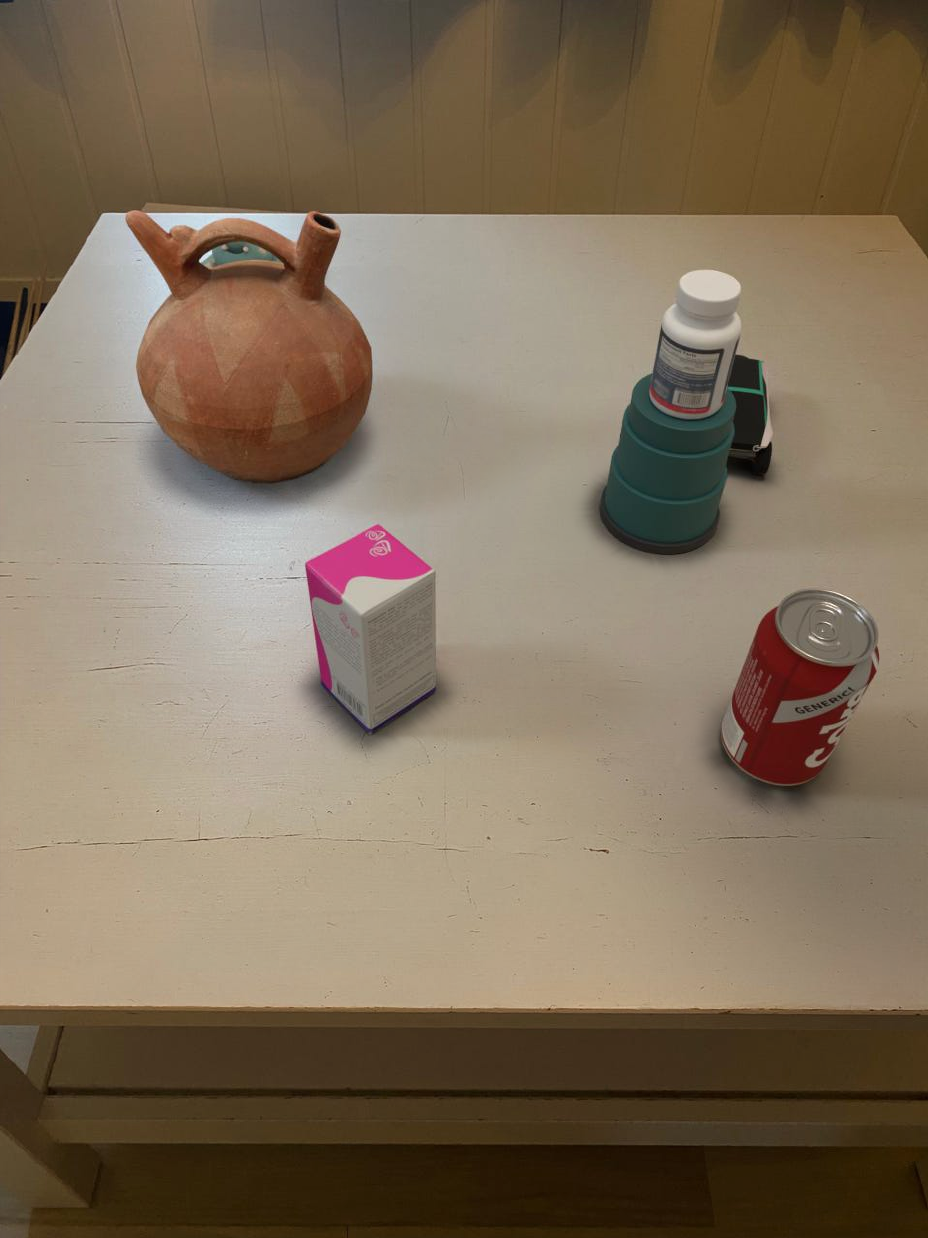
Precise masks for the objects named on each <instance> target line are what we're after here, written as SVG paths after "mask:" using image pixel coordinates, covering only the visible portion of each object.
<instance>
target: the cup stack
mask: <svg viewBox="0 0 928 1238" xmlns="http://www.w3.org/2000/svg"><path fill="white" fill-rule="evenodd" d="M652 373H653V372H651V373H649V374H647V375H645V376H643V377H641V378H640V379H639V380H638V381H637V382H636V384H635V385H634V387H633V389H632V392H631V397H630V403H629V404H628V405H627V407H626V408H625V409H624V412H623V415H622V421H621V427H620V433H619V440H618V445H617V446H616V447H615V449H614V450H613V452H612V454H611V459H610V465H609V469H608V470H609V471H608V476H607V483H606V485H605V487H604V489H603V490H602V493H601V496H600V503H599V514H600V518H601V520H602V523H603V524H604V526H605V527H606V529H607V530H608V531H609V533H610V534H612V535H613V536H614V537H615V539H618V540H619V541H620V542H622V543H623V544H626V545H627V546H629V547H632V548H633V549H636V550H639V551H643V552H647V553H651V554H658V555H675V554H683V553H687V552H690V551H691V552H692V551H693V550H697V549H698V548H700V547H702V546H703V545H705V544H706V543H707V542H708V541H709V540H710V539H711V538H712V537H713V536H714V534H715V533H716V531H717V527H718V524H719V520H720V518H721V517H720V516H721V509H720V504H721V500H722V497H723V493H724V490H725V486H726V482H727V478H728V469H727V462H728V458H729V456H728V455H729V451H730V448H731V444H732V440H733V437H734V429H735V428H734V424H733V418H734V415H735V411H736V401H735V398H734V396H733V394H732V392H731V391H730V390H729V389H728V388H727V390H726V394H725V398H724V401H723V404H722V406H721V408H720V409H719V410H718V411H717V412H715V413H714V414H712V415H710V416H708V417H705V418H701V419H681V418H676V417H673V416H670V415H668V414H666V413H664V412H662V411H661V410H659V409H658V408H657V407H656V406H655V405H654V404H653V402H652V401H651V399H650V394H649V391H650V384H651V379H652Z"/></svg>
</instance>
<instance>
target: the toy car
mask: <svg viewBox="0 0 928 1238" xmlns="http://www.w3.org/2000/svg"><path fill="white" fill-rule="evenodd" d="M727 388H728V389H729V390H730V391H731V392H732V394H733V396H734V398H735V401H736V411H735V415H734V418H733V424H734V428H735V429H734V437H733V440H732V444H731V448H730V451H729V455H728V457H730V458H731V457H732V458H741V459H747V460H750V461H752V467H751V470H752V473H753V474H755V475H766V474H767V473H768V471H769V468H770V465H771V462H772V456H773V455H772V454H773V443H772V441H771V440H772V438H773V434H774V431H773V427H772V421H771V412H770V409H771V408H770V397H769V391H770V390H769V389H770V374H769V370H768V366H767V364H766V362H765V361H764V360H761V359H756V358H749V357H747V356H745V355H742V354H735V358H734V362H733V366H732V370H731V374H730V378H729V382H728V386H727Z"/></svg>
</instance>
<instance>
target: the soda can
mask: <svg viewBox="0 0 928 1238" xmlns="http://www.w3.org/2000/svg"><path fill="white" fill-rule="evenodd" d="M879 637H880V635H879V628H878V626H877V623H876V621H875V619H874V617H873V616H872V615H871V614H870V612H869V611H868V610H867V609H866V608H865V607H864V606H863V605H862V604H860V603H859V602H858V601H856V600H854V599H853V598H852V597H849V596H847V595H845V594H843V593H840V592H837V591H834V590H830V589H824V588H804V589H800V590H796V591H794V592H792V593H789V594H787V595H786V596H785V597H784V598H783V599H782V600H781V601H780V603H779V604H778V605H777V606H775V607H774V608H772V609H770V610H769V611H768V612H767V613H766V614H765V615H764V616H763V617H762V618H761V619H760V621H759V624H758V625H757V628H756V632H755V634H754V637H753V639H752V642H751V643H750V647H749V650H748V652H747V655H746V658H745V661H744V663H743V665H742V669H741V672H740V674H739V677H738V679H737V682H736V685H735V687H734V689H733V693H732V695H731V697H730V700H729V703H728V706H727V708H726V711H725V714H724V716H723V719H722V721H721V726H720V738H721V742H722V745H723V748H724V750H725V752H726V754H727V755H728V757H729V759H730V760H731V762H733V764H734V765H736V767H737V768H738V769H740V770H741V771H742V772H743V773H745V774H746V775H748V776H750V777H751V778H754V779H755V780H758V781H761V782H763V783H765V784H769V785H774V786H781V787H789V786H791V787H792V786H798V785H803V784H805V783H808V782H810V781H812V780H813V779H815V778H816V777H818V775H820V774H821V773H822V771H823V770H824V769H825V768H826V765H827V763H828V761H829V760H830V758H831V756H832V754H833V753H834V751H835V749H836V747H837V745H838V743H839V741H840V739H841V738H842V736H843V734H844V732H845V730H846V728H847V726H848V725H849V723H850V721H851V719H852V718H853V717H854V715H855V712H856V711H857V708H858V707H859V705H860V704H861V701H862V699H863V698H864V696H865V694H866V692H867V690H868V689H869V687H870V685H871V683H872V681H873V679H874V677H875V676H876V674H877V671H878V668H879V665H880V653H879V652H880V651H879V648H878V647H879V646H878V643H879Z"/></svg>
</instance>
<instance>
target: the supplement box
mask: <svg viewBox="0 0 928 1238" xmlns="http://www.w3.org/2000/svg"><path fill="white" fill-rule="evenodd" d="M304 568H305V573H306V581H307V589H308V595H309V596H308V597H309V603H310V611H311V618H312V626H313V632H314V639H315V646H316V654H317V660H318V668H319V670H318V671H319V676H320V677H319V678H320V684H321V686H322V687H323V688H324V689H325V690H326V691H327V692H328V693H329V695H330V696H331V697H332V698H333V699H334V700H335V701H336V702H337V703H338V704H339V705H340V706H341V707H342V708H343V709H344V710H345V711H346V712H347V713H348V714H349V715H350V716H351V717H352V718H353V719H354V721H356V722H357V723H358V724H359V725H360V726H361V727H362V728H363V729H364V731H366V732H367V734H368V735H372V734H374V733H376V732H377V731H379V730H380V729H382V728H383V727H385V726H386V725H388V724H389V723H390V722H392V721H393V720H395V719H396V718H398V717H400V716H401V715H402V714H404V713H405V712H407V711H408V710H410V709H411V708H413V707H415V706H416V705H418V704H419V703H421V702H422V701H423V700H425V699H426V698H428V697H429V696H431V695H432V694H434V693H435V692H436V690H437V653H436V651H437V635H436V634H437V632H436V630H437V628H436V627H437V623H436V622H437V619H436V617H437V614H436V613H437V612H436V611H437V609H436V607H437V606H436V605H437V604H436V603H437V602H436V601H437V600H436V599H437V598H436V595H437V594H436V593H437V591H436V590H437V589H436V583H437V582H436V578H437V577H436V575H437V574H436V569H433V567H431V565H429V564H428V563H426V561H424V560H423V559H421V558H420V556H418V555H417V554H416V553H415V552H413V550H411V549H410V548H408V547H407V546H406V545H404V543H402V542H401V541H400V540H399V539H397V538H396V537H395V536H394V535H392V533H390V532H389V531H388V530H387V529H385V528H384V527H383V526H382V525H380V523H376V524H375V525H372V526H371V527H368V528H367V529H365V530H364V531H361V532H360V533H358V534H356V535H354V536H353V537H351V538H349V539H347V540H346V541H344V542H342V543H340V544H338V545H336V546H334V547H332V548H331V549H328V550H326V551H325V552H323V553H321V554H319V555H317V556H315V557H313V558H311V559H309V560H307V561H306V562H304Z"/></svg>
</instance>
